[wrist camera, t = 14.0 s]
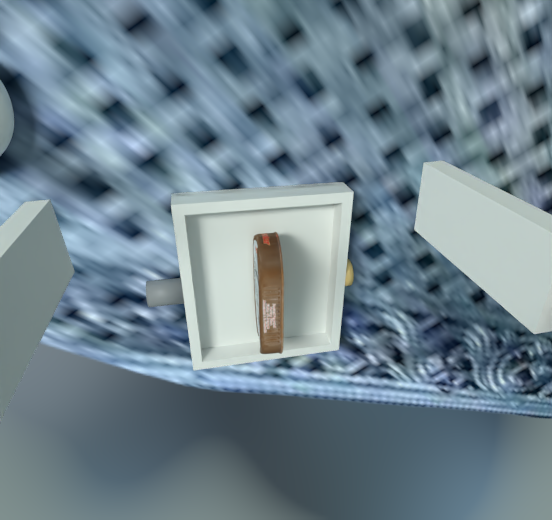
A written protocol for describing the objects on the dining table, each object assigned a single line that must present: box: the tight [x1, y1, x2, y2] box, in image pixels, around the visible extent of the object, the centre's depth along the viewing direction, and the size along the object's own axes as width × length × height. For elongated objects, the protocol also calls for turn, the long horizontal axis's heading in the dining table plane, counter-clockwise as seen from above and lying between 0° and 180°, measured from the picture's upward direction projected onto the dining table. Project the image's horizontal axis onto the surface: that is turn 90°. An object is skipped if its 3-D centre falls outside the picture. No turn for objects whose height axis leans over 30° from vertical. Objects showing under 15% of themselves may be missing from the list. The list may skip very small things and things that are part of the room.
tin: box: [253, 232, 284, 354], centre depth 46 cm, size 15×3×8 cm, turn 0°
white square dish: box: [146, 182, 354, 370], centre depth 49 cm, size 24×22×4 cm
